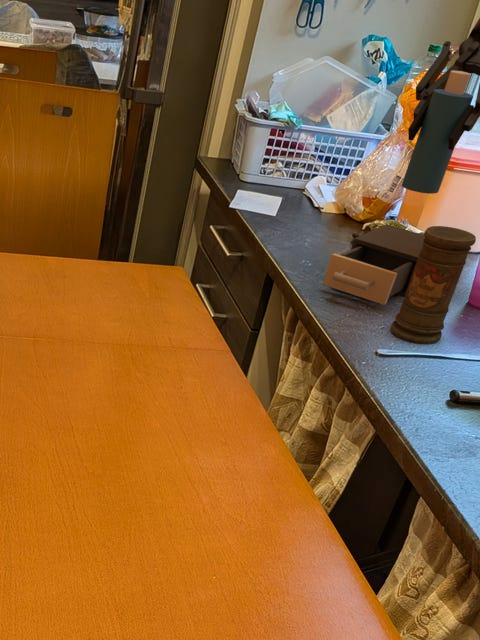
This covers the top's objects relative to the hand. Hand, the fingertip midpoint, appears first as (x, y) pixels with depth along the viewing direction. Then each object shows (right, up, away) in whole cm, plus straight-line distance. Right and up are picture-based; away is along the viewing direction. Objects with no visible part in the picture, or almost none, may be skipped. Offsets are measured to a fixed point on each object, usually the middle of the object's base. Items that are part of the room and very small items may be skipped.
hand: (430, 139), depth 158 cm
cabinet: (+8, -10, +37) cm, 39 cm away
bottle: (+2, -5, +8) cm, 9 cm away
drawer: (-1, -15, +28) cm, 31 cm away
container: (+3, -29, +13) cm, 32 cm away
